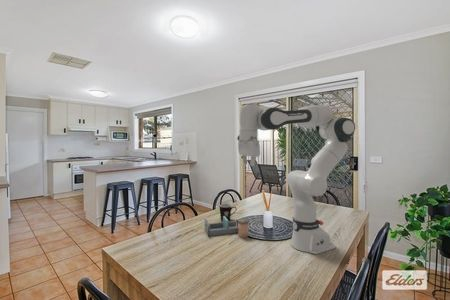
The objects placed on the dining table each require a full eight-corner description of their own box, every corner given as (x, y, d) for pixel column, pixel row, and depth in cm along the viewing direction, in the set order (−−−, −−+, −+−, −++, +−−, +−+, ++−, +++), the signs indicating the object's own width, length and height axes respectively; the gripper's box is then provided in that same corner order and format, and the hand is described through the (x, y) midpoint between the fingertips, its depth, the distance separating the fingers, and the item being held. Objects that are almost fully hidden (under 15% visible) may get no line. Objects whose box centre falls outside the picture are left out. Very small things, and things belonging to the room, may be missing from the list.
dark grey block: (235, 225, 142) (235, 216, 142) (240, 232, 131) (240, 222, 131) (204, 228, 137) (204, 219, 137) (208, 236, 126) (207, 226, 126)
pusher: (224, 226, 139) (224, 215, 139) (228, 232, 131) (228, 220, 131) (222, 227, 139) (222, 216, 138) (226, 232, 131) (226, 220, 130)
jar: (246, 232, 131) (246, 217, 131) (250, 237, 125) (250, 221, 125) (236, 233, 129) (236, 218, 129) (239, 238, 123) (239, 222, 123)
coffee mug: (217, 221, 150) (217, 206, 150) (221, 217, 158) (221, 203, 158) (234, 222, 147) (234, 208, 147) (236, 218, 156) (236, 204, 155)
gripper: (263, 136, 99) (263, 166, 99) (247, 137, 118) (247, 162, 119) (250, 136, 97) (250, 167, 97) (236, 137, 117) (236, 163, 117)
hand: (248, 164), depth 108 cm, fingers open, 8 cm apart
